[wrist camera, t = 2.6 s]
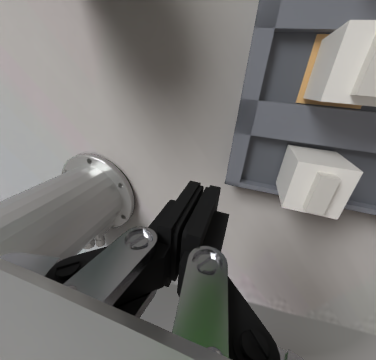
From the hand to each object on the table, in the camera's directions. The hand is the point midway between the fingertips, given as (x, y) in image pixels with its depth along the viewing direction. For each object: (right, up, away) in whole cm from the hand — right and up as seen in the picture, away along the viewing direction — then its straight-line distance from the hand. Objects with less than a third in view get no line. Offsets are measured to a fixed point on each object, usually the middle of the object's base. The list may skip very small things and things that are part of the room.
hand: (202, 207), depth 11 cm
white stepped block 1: (+11, +10, +4) cm, 15 cm away
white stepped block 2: (+10, +3, +8) cm, 13 cm away
